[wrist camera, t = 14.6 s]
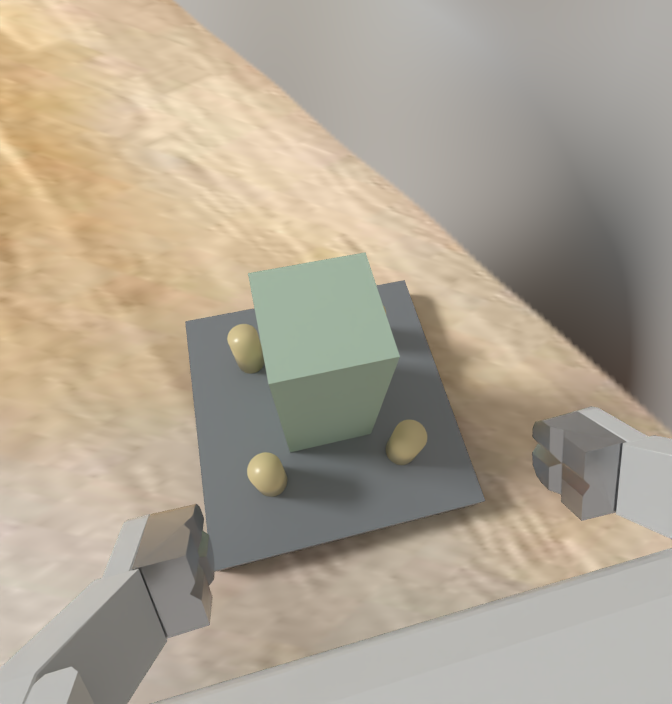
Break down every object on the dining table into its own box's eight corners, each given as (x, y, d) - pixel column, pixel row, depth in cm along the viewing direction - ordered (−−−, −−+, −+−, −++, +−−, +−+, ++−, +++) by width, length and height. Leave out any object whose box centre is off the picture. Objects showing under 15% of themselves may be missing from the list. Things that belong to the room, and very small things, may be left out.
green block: (289, 452, 23) (268, 384, 14) (275, 376, 25) (248, 273, 16) (371, 433, 24) (399, 356, 15) (350, 360, 26) (365, 252, 17)
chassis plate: (218, 571, 22) (194, 573, 18) (192, 333, 28) (169, 294, 24) (476, 504, 24) (507, 492, 20) (400, 293, 30) (413, 250, 26)
